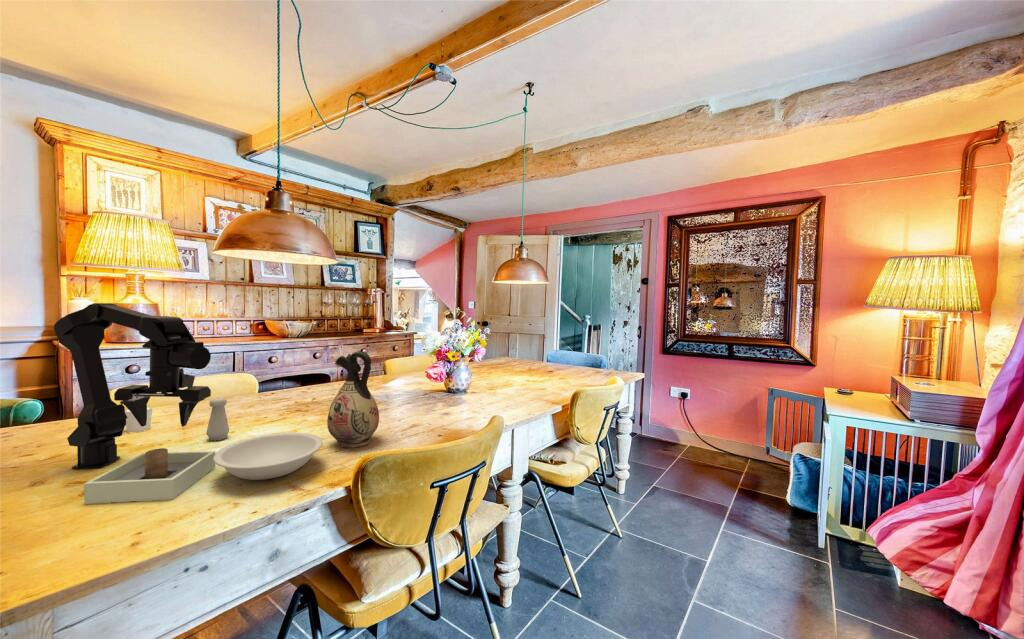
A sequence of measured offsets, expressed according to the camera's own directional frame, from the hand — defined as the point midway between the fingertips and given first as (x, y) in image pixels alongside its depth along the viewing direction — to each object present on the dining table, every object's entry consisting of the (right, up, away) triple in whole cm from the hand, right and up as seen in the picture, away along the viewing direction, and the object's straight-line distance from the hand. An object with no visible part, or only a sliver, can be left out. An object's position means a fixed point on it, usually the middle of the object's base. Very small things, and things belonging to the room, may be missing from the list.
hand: (163, 426), depth 99 cm
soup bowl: (+27, -13, +2) cm, 30 cm away
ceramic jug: (+40, -12, +23) cm, 48 cm away
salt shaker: (-4, -11, +23) cm, 26 cm away
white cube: (-34, -9, +29) cm, 46 cm away
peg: (+4, -12, -7) cm, 15 cm away
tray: (+4, -12, -7) cm, 15 cm away
